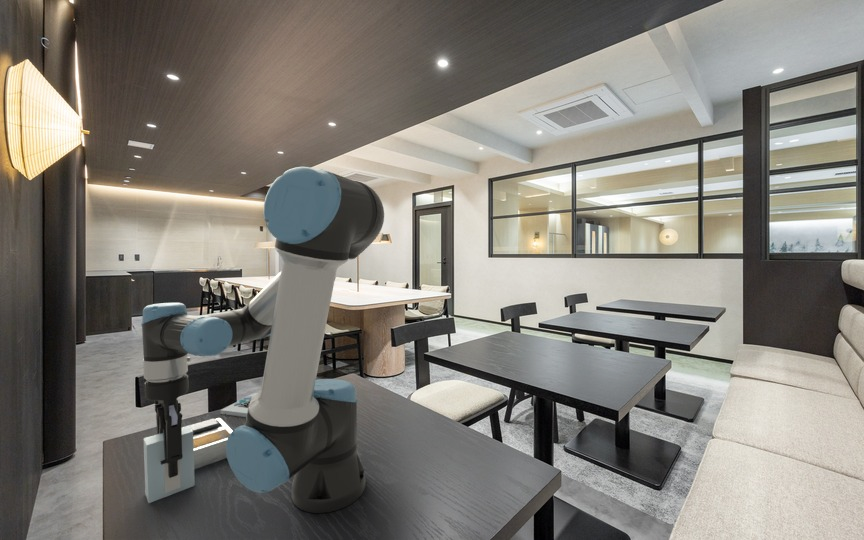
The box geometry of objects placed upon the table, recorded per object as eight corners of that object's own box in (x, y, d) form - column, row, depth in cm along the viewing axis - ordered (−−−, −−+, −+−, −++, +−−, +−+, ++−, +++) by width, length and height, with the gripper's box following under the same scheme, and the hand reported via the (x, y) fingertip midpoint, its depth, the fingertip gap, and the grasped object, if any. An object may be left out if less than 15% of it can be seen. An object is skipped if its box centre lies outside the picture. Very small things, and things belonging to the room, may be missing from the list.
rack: (238, 453, 92) (237, 432, 92) (181, 473, 84) (181, 450, 83) (220, 433, 103) (219, 414, 103) (168, 449, 94) (167, 428, 94)
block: (194, 485, 79) (193, 431, 79) (148, 503, 74) (146, 445, 73) (190, 477, 82) (188, 425, 82) (145, 494, 77) (143, 438, 76)
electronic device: (220, 408, 115) (254, 391, 130) (220, 415, 116) (254, 397, 130) (270, 414, 111) (299, 396, 125) (270, 422, 111) (299, 402, 125)
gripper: (198, 382, 74) (201, 494, 75) (179, 364, 86) (182, 461, 87) (151, 392, 68) (155, 513, 69) (138, 371, 80) (141, 475, 81)
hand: (170, 484), depth 78 cm, fingers closed on block, 4 cm apart
